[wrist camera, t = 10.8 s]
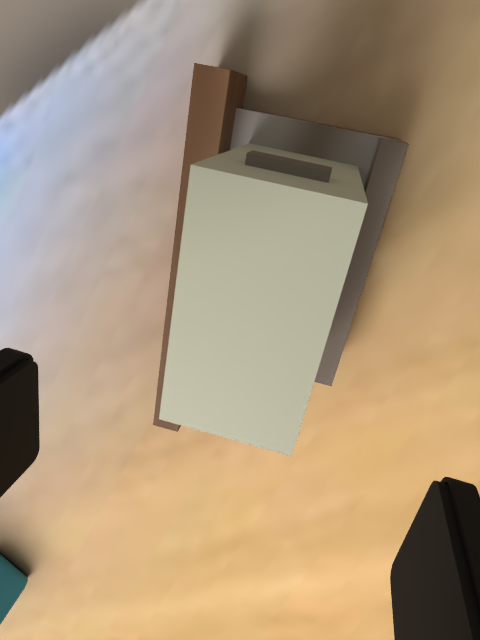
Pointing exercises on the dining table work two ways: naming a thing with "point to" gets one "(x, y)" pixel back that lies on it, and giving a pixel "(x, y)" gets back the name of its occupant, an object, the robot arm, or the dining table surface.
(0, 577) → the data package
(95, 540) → the dining table surface
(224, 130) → the board
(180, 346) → the slotted sage box
